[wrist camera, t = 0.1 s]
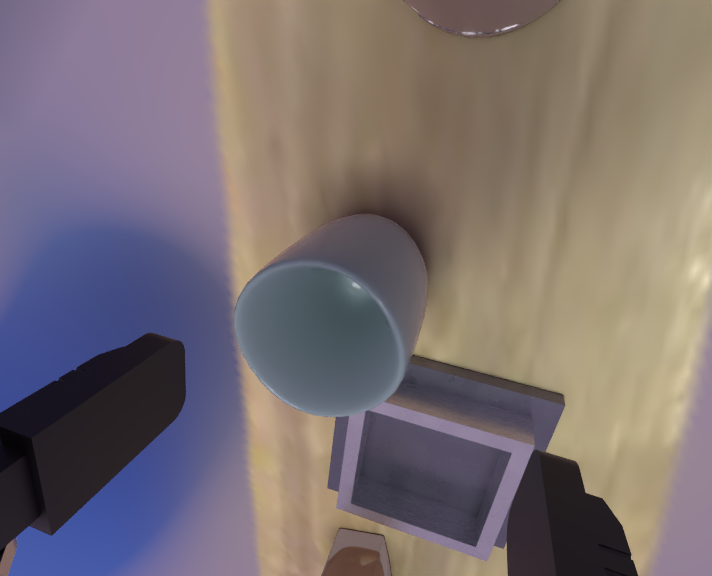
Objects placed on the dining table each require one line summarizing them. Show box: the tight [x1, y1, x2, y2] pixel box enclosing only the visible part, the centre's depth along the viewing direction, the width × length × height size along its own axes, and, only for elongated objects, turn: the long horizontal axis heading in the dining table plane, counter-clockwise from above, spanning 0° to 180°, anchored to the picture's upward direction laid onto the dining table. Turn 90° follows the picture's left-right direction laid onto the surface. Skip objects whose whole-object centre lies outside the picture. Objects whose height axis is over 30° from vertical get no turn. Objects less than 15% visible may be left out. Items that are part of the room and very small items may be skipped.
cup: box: [234, 214, 428, 417], centre depth 23 cm, size 8×8×10 cm
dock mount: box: [327, 355, 565, 561], centre depth 30 cm, size 14×14×4 cm
